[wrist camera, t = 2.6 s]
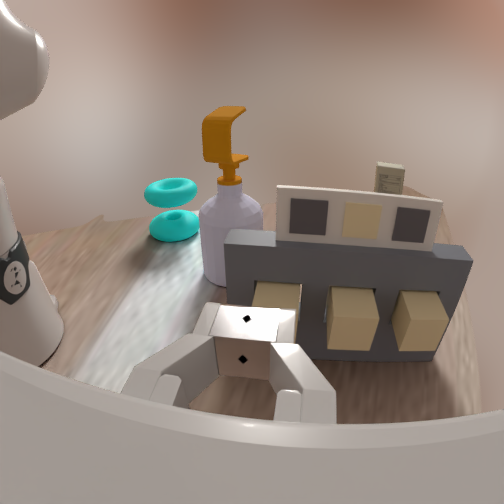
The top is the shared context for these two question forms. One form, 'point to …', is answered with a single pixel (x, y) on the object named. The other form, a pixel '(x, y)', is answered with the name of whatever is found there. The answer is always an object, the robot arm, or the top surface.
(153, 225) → the donuts
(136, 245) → the top surface
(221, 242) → the soap bottle
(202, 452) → the robot arm
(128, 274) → the top surface
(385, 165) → the skincare box
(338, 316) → the button mid
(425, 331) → the button right
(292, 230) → the panel
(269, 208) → the top surface
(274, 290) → the button left
